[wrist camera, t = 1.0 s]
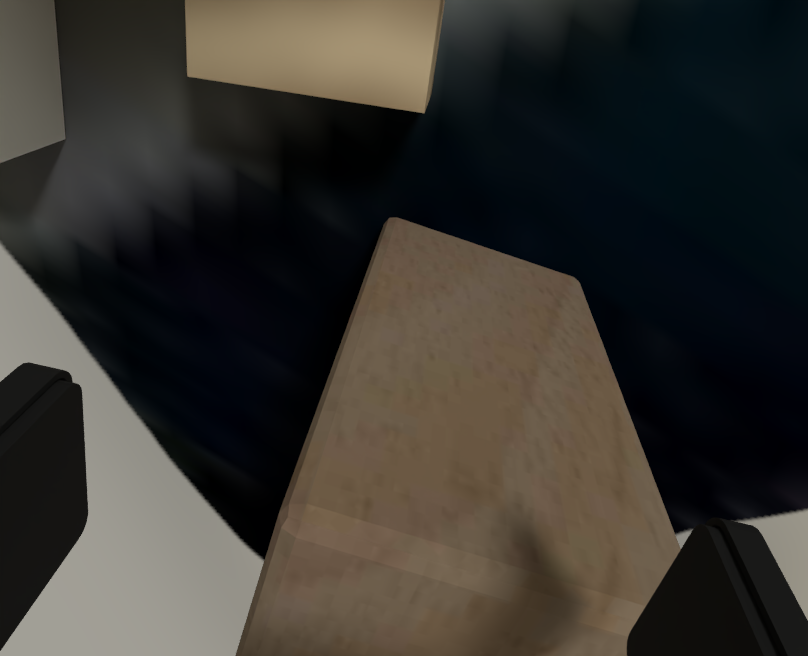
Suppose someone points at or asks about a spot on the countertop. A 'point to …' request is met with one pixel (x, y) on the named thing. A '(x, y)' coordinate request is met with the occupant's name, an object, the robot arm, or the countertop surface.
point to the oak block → (319, 47)
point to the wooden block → (464, 474)
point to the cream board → (29, 78)
